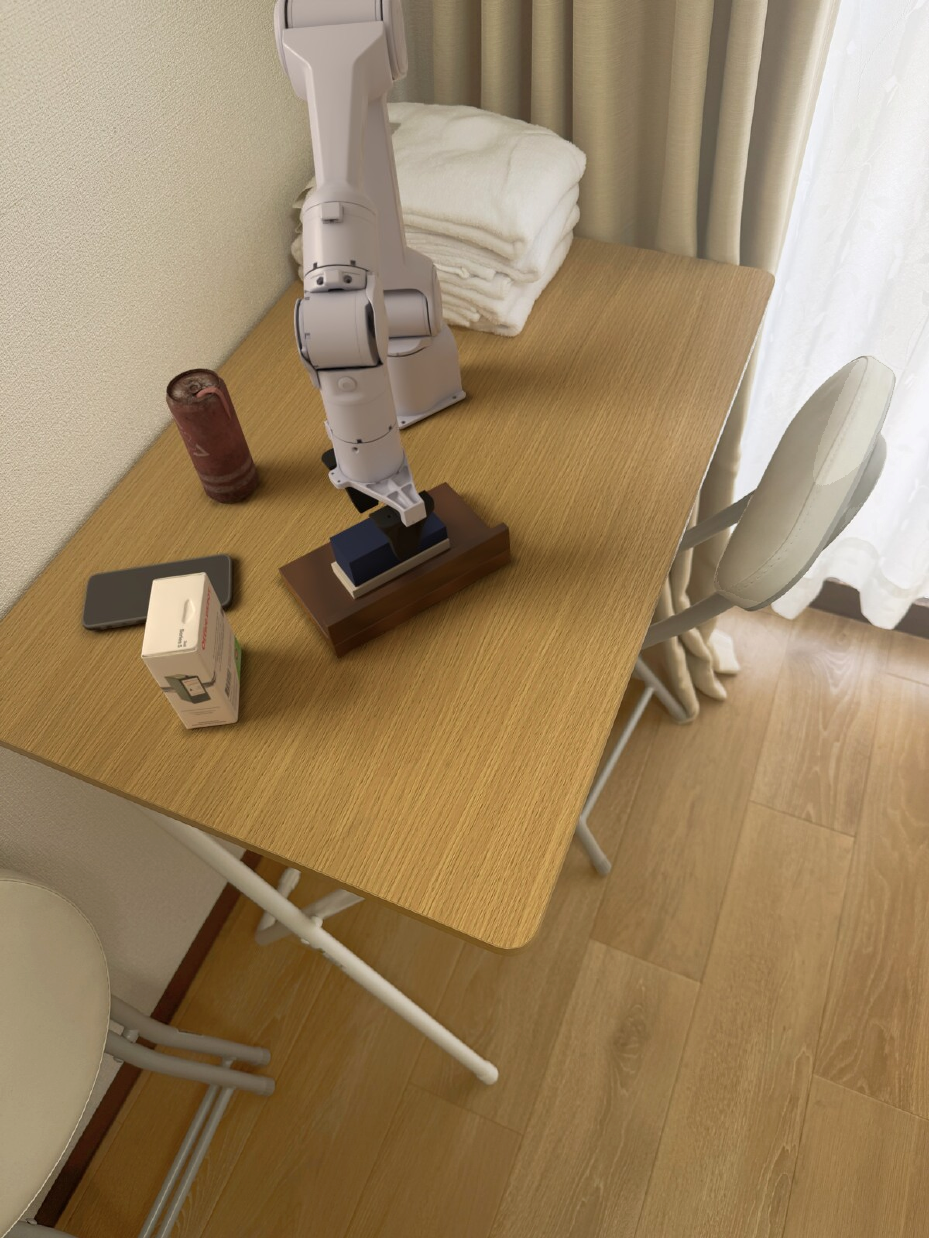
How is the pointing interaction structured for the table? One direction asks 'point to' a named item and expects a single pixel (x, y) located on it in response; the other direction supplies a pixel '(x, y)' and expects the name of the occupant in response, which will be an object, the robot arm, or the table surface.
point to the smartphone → (147, 589)
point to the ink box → (193, 650)
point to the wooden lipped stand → (397, 578)
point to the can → (212, 434)
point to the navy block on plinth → (380, 554)
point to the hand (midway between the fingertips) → (387, 530)
